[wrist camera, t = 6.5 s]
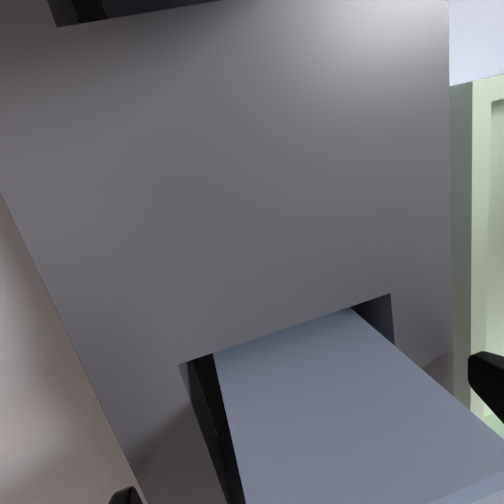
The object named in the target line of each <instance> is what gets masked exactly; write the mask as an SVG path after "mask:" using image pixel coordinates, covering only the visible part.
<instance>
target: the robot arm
mask: <svg viewBox="0 0 504 504" xmlns="http://www.w3.org/2000/svg"><path fill="white" fill-rule="evenodd" d="M467 379H468V383H469V385H470V386H471V388H472V389H473V390H474V392H475V393H476V394H477V395H478V396H479V397H480V398H481V399H482V401H483V402H484V403H485V404H486V405H487V406H488V407H489V408H490V409H491V411H492V412H493V413H494V414H495V415H496V416H497V417H498V418H499V420H500V421H501V422H502V423H503V424H504V356H501V355H497V354H494V353H490V352H486V351H480V352H477V353H475V354H472V355H470V356H469V357H468V360H467ZM108 504H143V503H142V501H141V499H140V497H139V495H138V493H137V491H136V489H135V488H134V487H133V486H130V487H127V488H125V489H122V490H120V491H117V492H116V493H115V494H114V495H113V496H112V498H111V500H110V502H109V503H108Z"/></svg>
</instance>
